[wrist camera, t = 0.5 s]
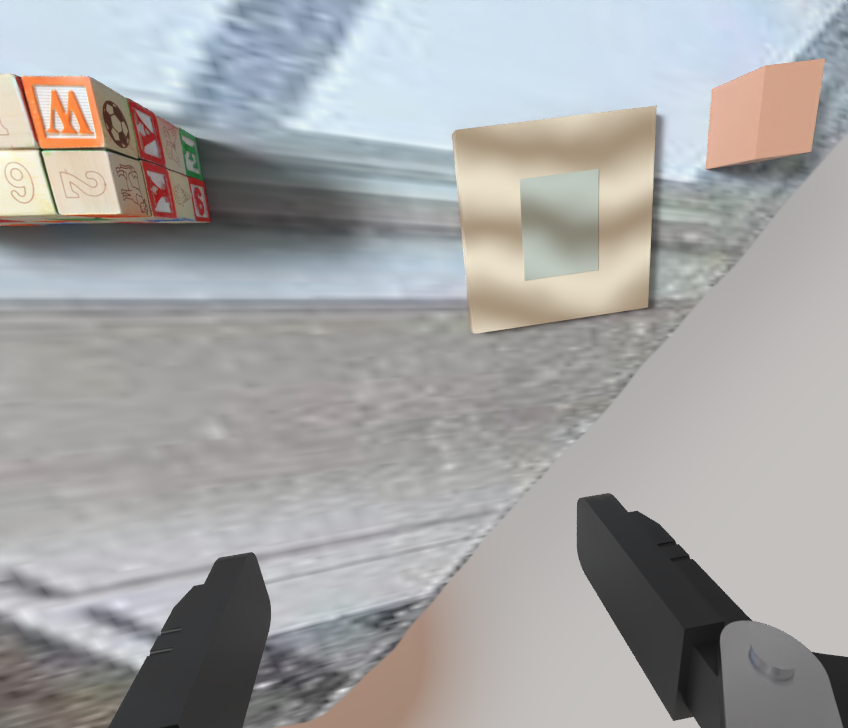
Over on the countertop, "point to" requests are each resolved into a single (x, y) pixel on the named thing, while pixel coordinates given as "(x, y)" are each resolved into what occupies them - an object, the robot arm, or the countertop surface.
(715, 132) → the terracotta brick
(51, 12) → the countertop surface
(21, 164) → the stack of blocks
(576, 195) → the ash board
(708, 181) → the countertop surface
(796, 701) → the robot arm
